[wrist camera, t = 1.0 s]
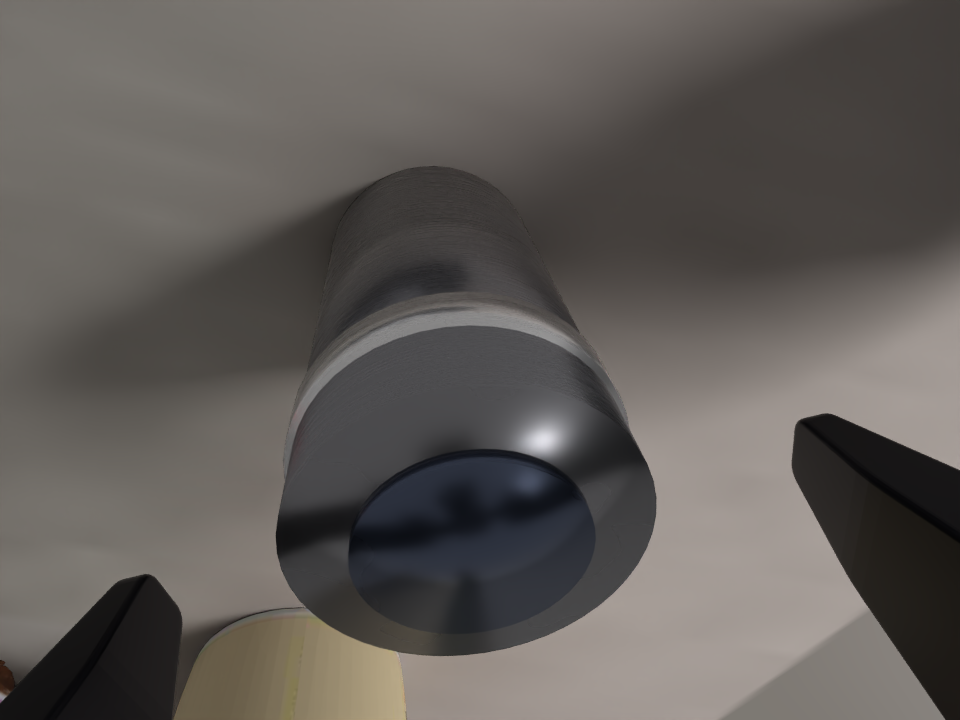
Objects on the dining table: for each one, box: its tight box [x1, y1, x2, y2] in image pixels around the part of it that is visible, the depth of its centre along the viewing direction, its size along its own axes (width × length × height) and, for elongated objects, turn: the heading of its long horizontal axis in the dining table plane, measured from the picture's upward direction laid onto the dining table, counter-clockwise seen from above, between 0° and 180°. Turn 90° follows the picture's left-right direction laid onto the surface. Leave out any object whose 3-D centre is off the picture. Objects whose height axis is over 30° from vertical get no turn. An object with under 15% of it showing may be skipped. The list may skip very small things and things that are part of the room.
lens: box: [276, 166, 656, 656], centre depth 12 cm, size 5×5×9 cm
